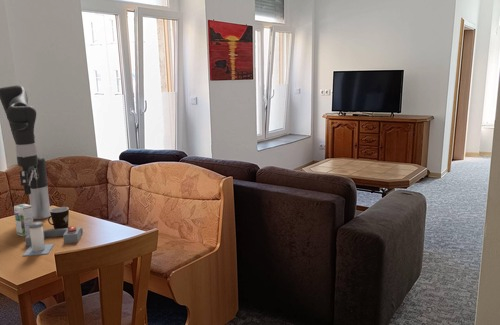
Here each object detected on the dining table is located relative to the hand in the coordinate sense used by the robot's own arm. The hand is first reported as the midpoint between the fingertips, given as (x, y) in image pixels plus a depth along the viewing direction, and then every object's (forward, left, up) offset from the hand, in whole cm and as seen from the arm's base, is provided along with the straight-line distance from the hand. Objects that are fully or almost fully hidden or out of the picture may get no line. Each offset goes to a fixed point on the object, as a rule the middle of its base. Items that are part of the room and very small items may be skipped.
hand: (31, 191), depth 167 cm
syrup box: (-22, -12, -27) cm, 37 cm away
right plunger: (-10, +12, -25) cm, 29 cm away
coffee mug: (-25, +2, -27) cm, 37 cm away
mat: (0, 0, -27) cm, 27 cm away
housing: (-12, +4, -27) cm, 30 cm away
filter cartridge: (0, 0, -27) cm, 27 cm away
